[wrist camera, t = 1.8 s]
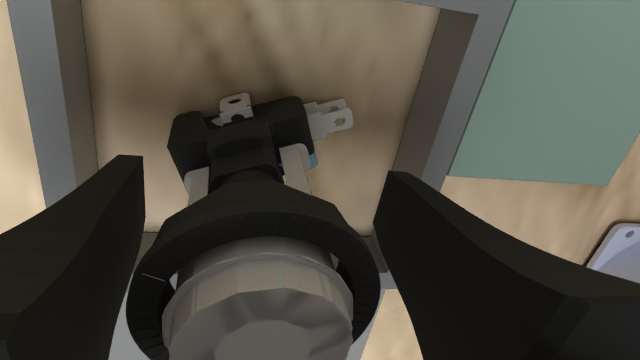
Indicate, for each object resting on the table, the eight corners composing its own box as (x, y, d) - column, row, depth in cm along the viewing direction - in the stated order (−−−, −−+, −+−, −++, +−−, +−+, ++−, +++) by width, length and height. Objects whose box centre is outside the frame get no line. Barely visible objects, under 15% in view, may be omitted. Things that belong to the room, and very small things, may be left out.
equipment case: (487, -51, 14) (530, -44, 12) (335, 399, 28) (344, 438, 26) (21, -153, 11) (-26, -167, 9) (106, 418, 25) (95, 464, 23)
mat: (748, -64, 16) (762, -63, 16) (599, 180, 22) (607, 185, 21) (552, -118, 14) (563, -119, 13) (443, 170, 19) (448, 175, 19)
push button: (332, 36, 15) (460, 191, 7) (352, 159, 18) (458, 371, 10) (149, 81, 15) (53, 301, 7) (200, 199, 18) (179, 453, 10)
